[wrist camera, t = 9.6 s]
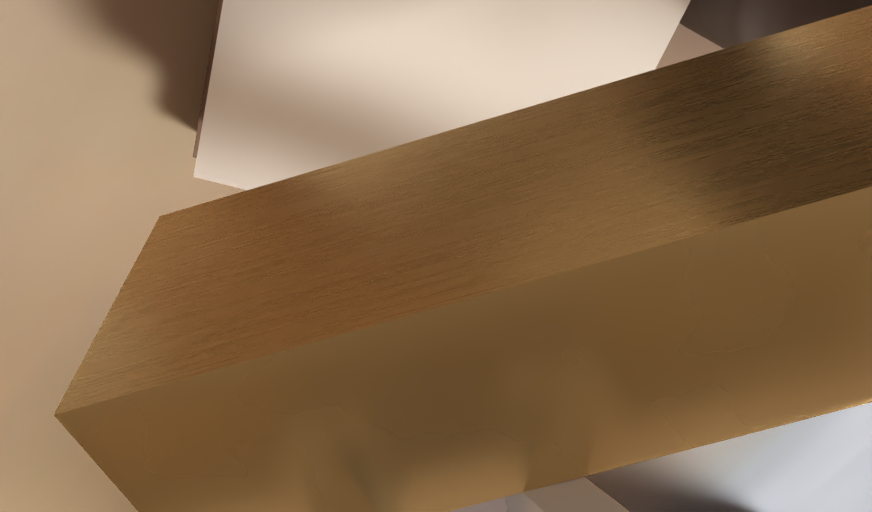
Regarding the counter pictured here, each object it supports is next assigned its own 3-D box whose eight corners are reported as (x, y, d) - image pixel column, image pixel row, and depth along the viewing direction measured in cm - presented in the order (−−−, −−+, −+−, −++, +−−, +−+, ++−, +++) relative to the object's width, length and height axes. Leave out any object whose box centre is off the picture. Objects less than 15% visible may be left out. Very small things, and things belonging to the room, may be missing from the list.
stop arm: (1169, -120, 9) (1693, -96, 5) (1083, 149, 11) (1414, 289, 7) (143, 187, 9) (22, 380, 6) (256, 378, 12) (214, 597, 8)
